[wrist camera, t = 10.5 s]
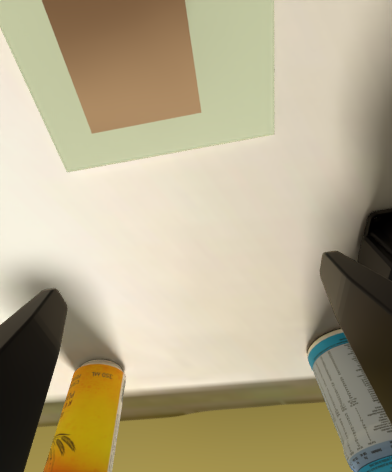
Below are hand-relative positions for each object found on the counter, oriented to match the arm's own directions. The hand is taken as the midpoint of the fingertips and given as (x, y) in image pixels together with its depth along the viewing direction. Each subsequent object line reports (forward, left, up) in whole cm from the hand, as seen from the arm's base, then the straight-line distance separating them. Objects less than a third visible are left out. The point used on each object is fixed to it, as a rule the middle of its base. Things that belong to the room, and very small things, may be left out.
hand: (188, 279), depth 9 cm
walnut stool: (+1, -8, -12) cm, 14 cm away
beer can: (+15, +24, -12) cm, 31 cm away
